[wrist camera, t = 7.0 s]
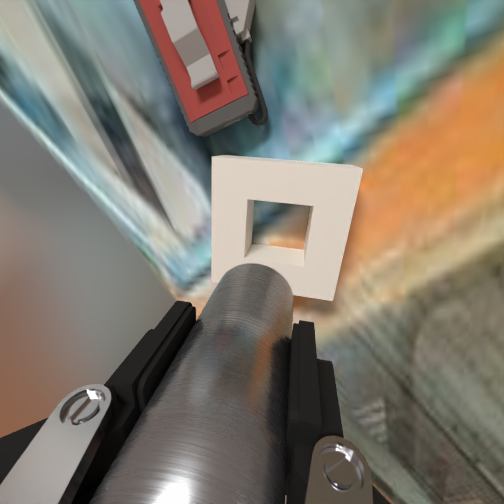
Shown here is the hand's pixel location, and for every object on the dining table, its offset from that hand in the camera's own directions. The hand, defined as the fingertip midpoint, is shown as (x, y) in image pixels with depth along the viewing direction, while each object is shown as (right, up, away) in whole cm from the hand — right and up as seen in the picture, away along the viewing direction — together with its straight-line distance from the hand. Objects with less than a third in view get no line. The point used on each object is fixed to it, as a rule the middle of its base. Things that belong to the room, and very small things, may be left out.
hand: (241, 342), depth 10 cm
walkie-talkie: (-4, +24, +11) cm, 26 cm away
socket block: (+3, +7, +16) cm, 18 cm away
